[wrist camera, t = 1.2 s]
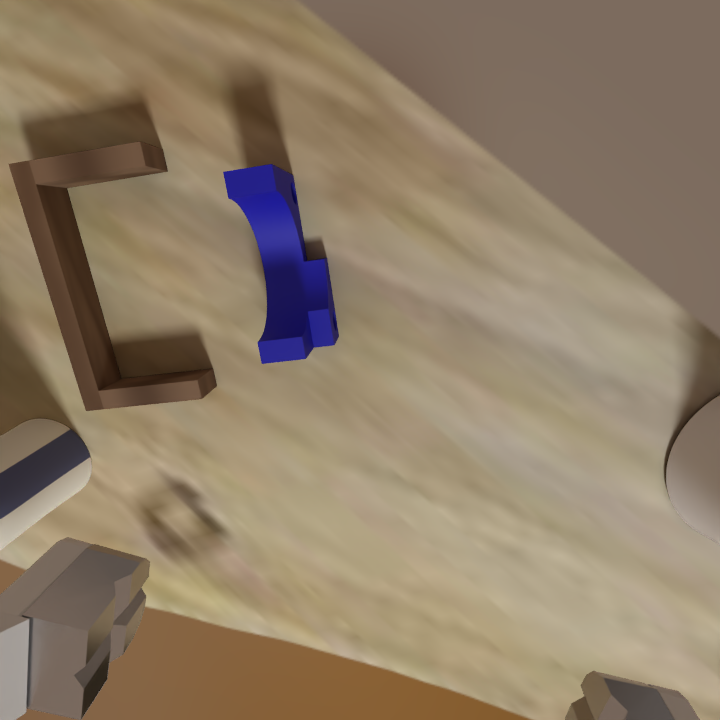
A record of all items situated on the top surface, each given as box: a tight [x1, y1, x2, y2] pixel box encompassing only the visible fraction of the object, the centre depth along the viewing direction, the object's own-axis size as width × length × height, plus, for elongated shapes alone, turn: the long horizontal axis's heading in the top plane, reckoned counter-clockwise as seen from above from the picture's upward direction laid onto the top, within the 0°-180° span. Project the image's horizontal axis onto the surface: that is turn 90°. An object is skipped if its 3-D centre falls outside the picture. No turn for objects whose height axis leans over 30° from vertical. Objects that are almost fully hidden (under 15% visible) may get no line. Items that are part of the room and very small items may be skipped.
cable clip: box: [223, 164, 339, 364], centre depth 31 cm, size 12×4×6 cm, turn 8°
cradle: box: [9, 141, 217, 411], centre depth 34 cm, size 10×18×3 cm, turn 8°
